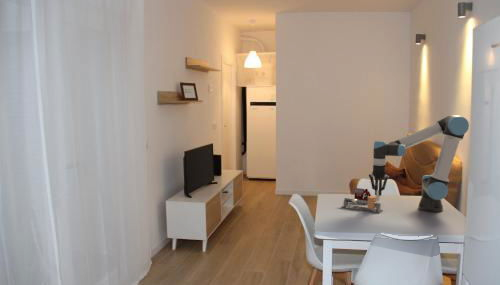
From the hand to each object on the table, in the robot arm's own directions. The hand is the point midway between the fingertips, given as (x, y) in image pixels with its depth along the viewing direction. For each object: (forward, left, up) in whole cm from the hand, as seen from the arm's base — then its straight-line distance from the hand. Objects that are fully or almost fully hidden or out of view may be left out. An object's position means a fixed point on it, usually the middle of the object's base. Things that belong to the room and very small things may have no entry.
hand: (378, 200), depth 285 cm
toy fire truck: (+17, -18, -8) cm, 26 cm away
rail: (+11, 0, -8) cm, 13 cm away
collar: (+4, 0, -6) cm, 7 cm away
